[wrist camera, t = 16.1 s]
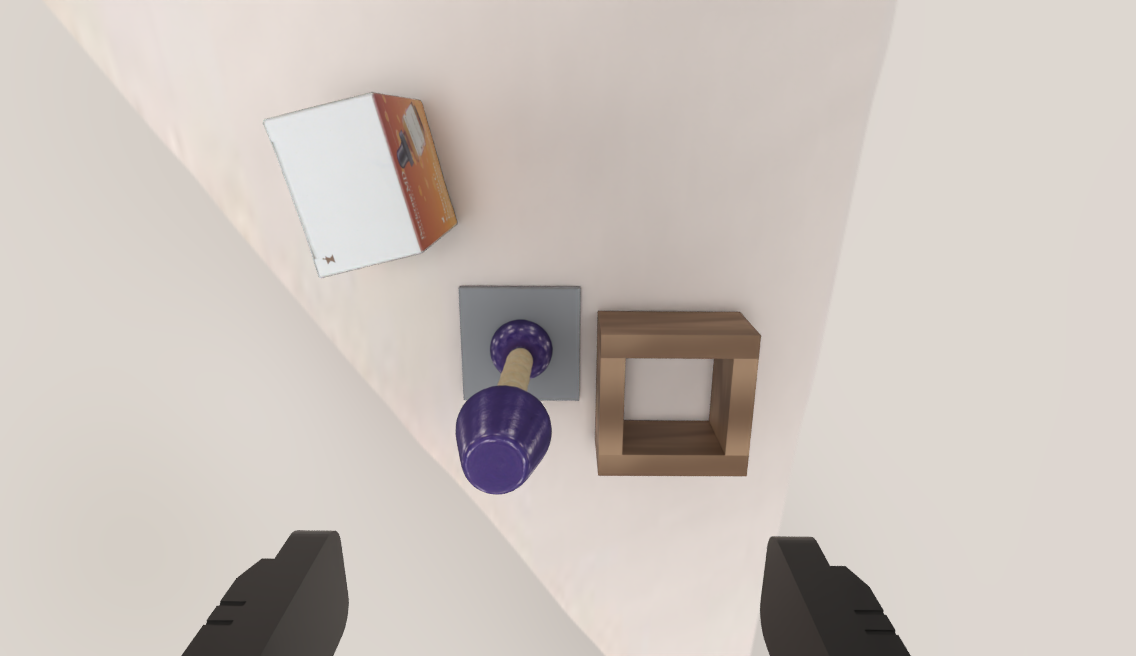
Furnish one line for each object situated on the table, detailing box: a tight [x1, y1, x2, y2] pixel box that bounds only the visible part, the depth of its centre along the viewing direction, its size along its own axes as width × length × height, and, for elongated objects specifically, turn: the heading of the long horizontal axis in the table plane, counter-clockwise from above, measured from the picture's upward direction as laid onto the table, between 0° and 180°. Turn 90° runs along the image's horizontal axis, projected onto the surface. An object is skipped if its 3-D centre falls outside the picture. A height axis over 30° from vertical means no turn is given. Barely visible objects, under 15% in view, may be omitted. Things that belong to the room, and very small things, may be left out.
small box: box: [263, 92, 457, 278], centre depth 36 cm, size 8×6×10 cm
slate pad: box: [459, 286, 580, 401], centre depth 44 cm, size 8×8×1 cm
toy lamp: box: [456, 320, 553, 494], centre depth 36 cm, size 5×5×17 cm
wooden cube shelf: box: [595, 311, 761, 476], centre depth 43 cm, size 10×10×5 cm
